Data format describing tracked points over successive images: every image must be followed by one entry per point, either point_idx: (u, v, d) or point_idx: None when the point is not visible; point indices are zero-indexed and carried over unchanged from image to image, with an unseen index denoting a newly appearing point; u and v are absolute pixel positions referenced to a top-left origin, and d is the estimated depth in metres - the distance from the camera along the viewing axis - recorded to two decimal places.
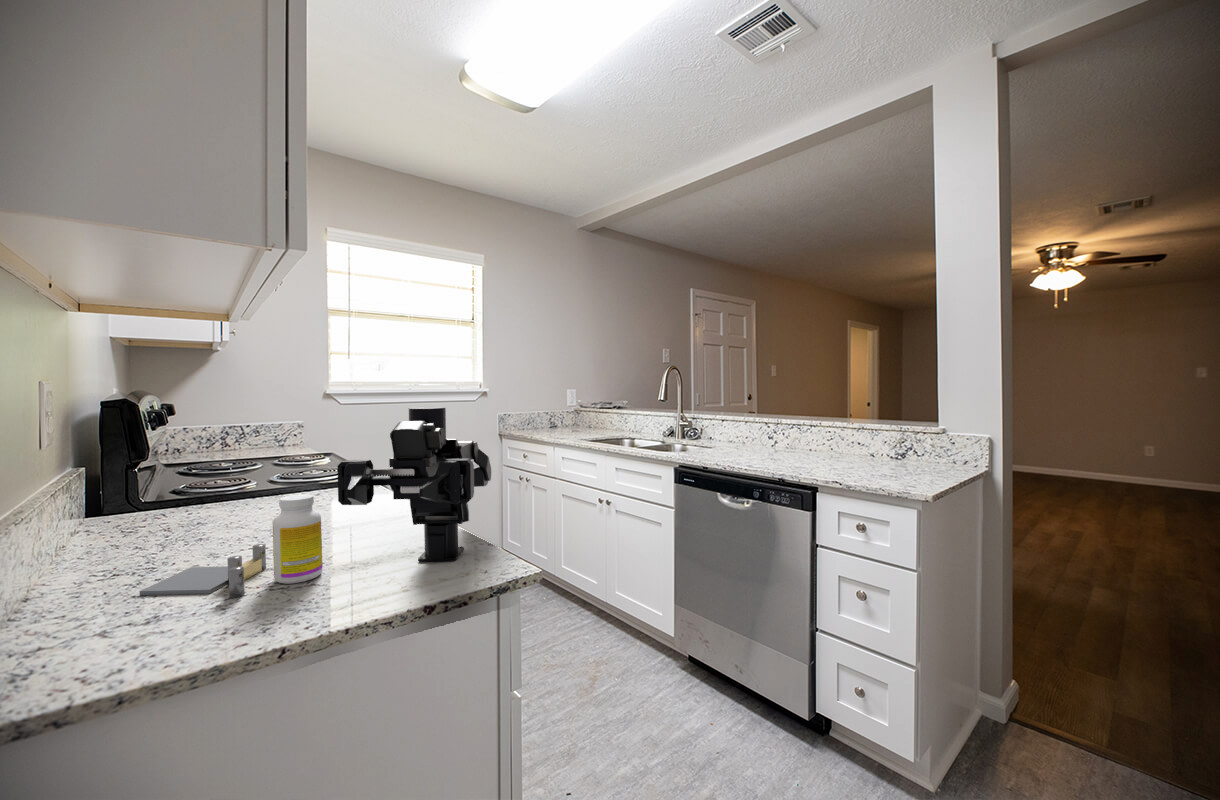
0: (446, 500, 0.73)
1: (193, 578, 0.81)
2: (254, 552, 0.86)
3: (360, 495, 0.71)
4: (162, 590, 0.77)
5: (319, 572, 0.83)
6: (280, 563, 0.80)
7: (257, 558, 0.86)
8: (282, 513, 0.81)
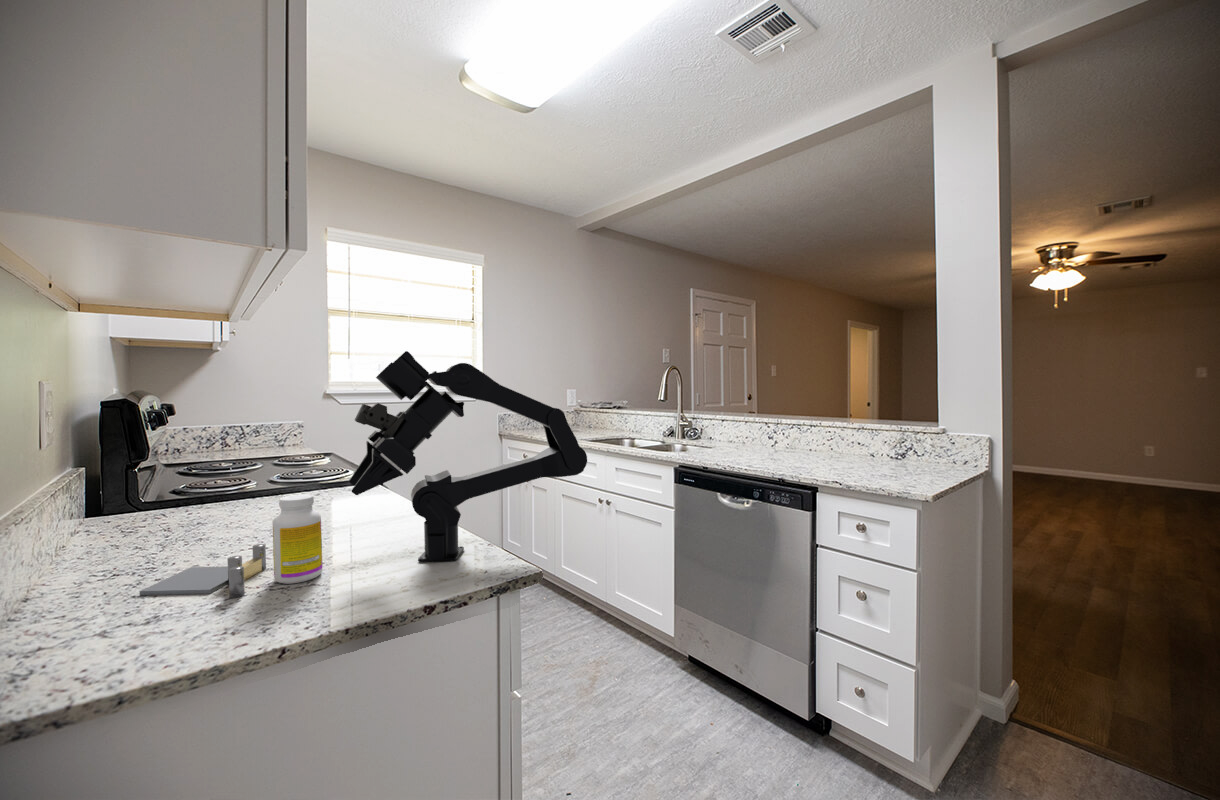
0: (390, 478, 0.83)
1: (193, 578, 0.81)
2: (254, 552, 0.86)
3: None
4: (162, 590, 0.77)
5: (319, 572, 0.83)
6: (280, 563, 0.80)
7: (257, 558, 0.86)
8: (282, 513, 0.81)
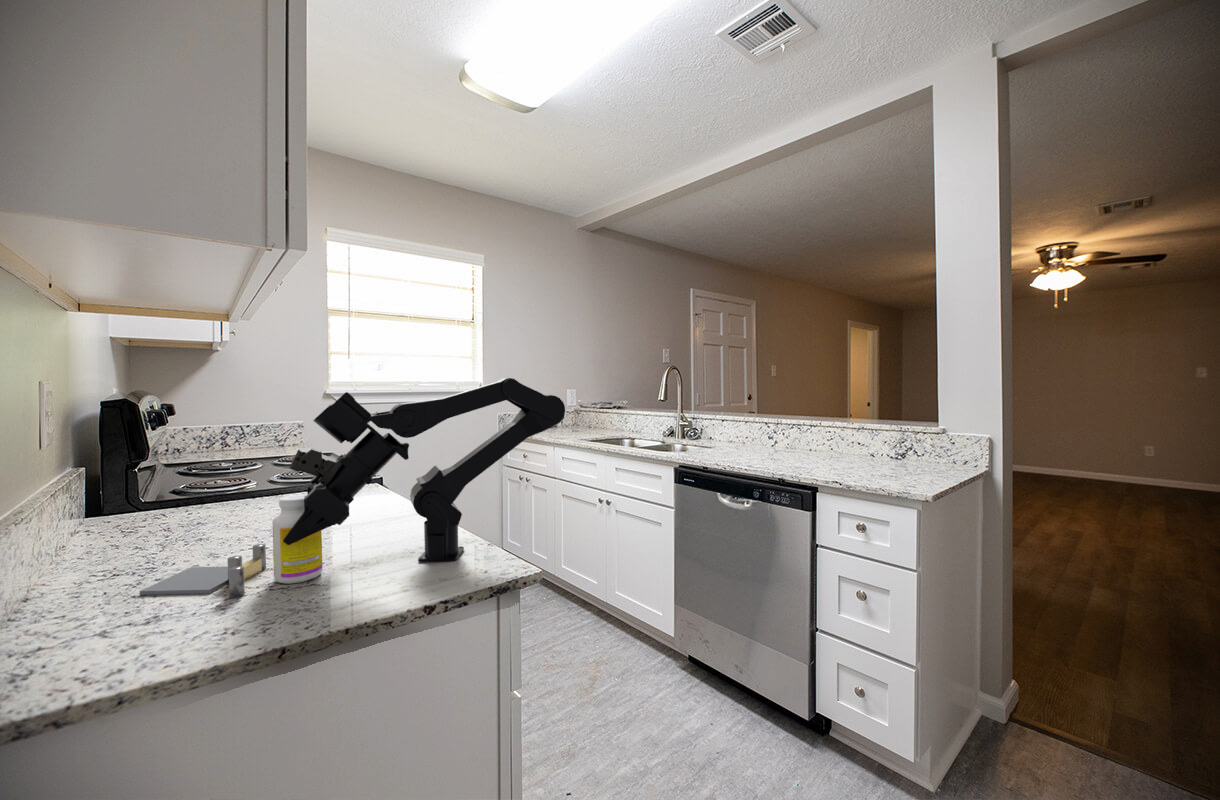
0: (324, 527, 0.80)
1: (193, 578, 0.81)
2: (254, 552, 0.86)
3: None
4: (162, 590, 0.77)
5: (319, 572, 0.83)
6: (280, 563, 0.80)
7: (257, 558, 0.86)
8: (282, 513, 0.81)
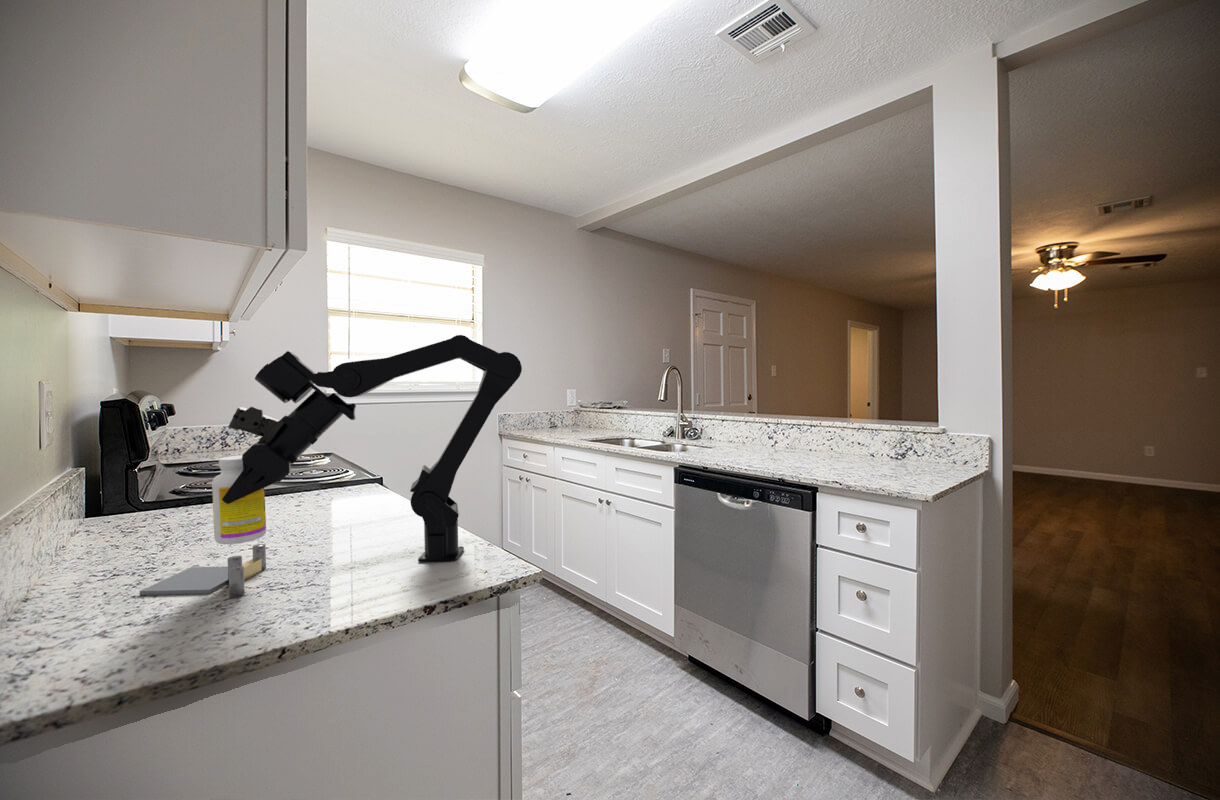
0: (264, 485, 0.79)
1: (193, 578, 0.81)
2: (254, 552, 0.86)
3: None
4: (162, 590, 0.77)
5: (262, 533, 0.82)
6: (220, 523, 0.78)
7: (257, 558, 0.86)
8: (222, 473, 0.80)
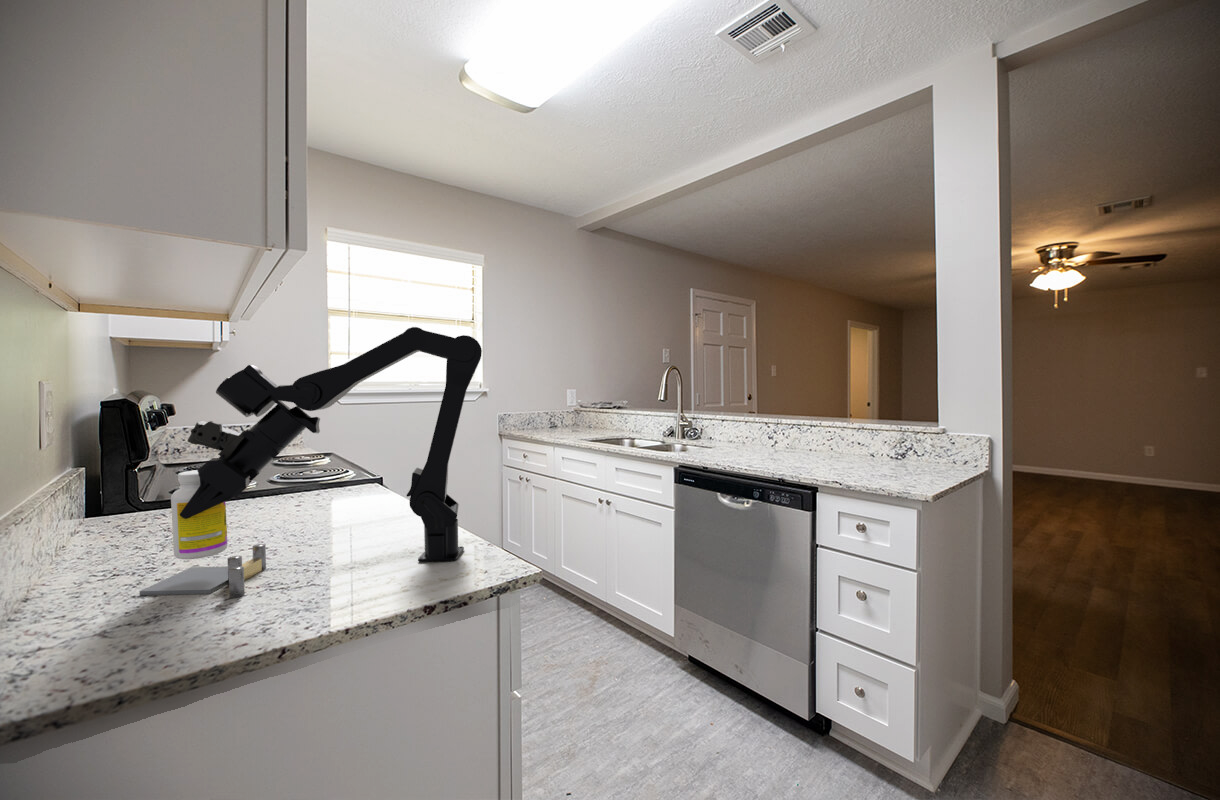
0: (222, 501, 0.78)
1: (193, 578, 0.81)
2: (254, 552, 0.86)
3: None
4: (162, 590, 0.77)
5: (222, 548, 0.82)
6: (178, 538, 0.78)
7: (257, 558, 0.86)
8: (181, 488, 0.79)
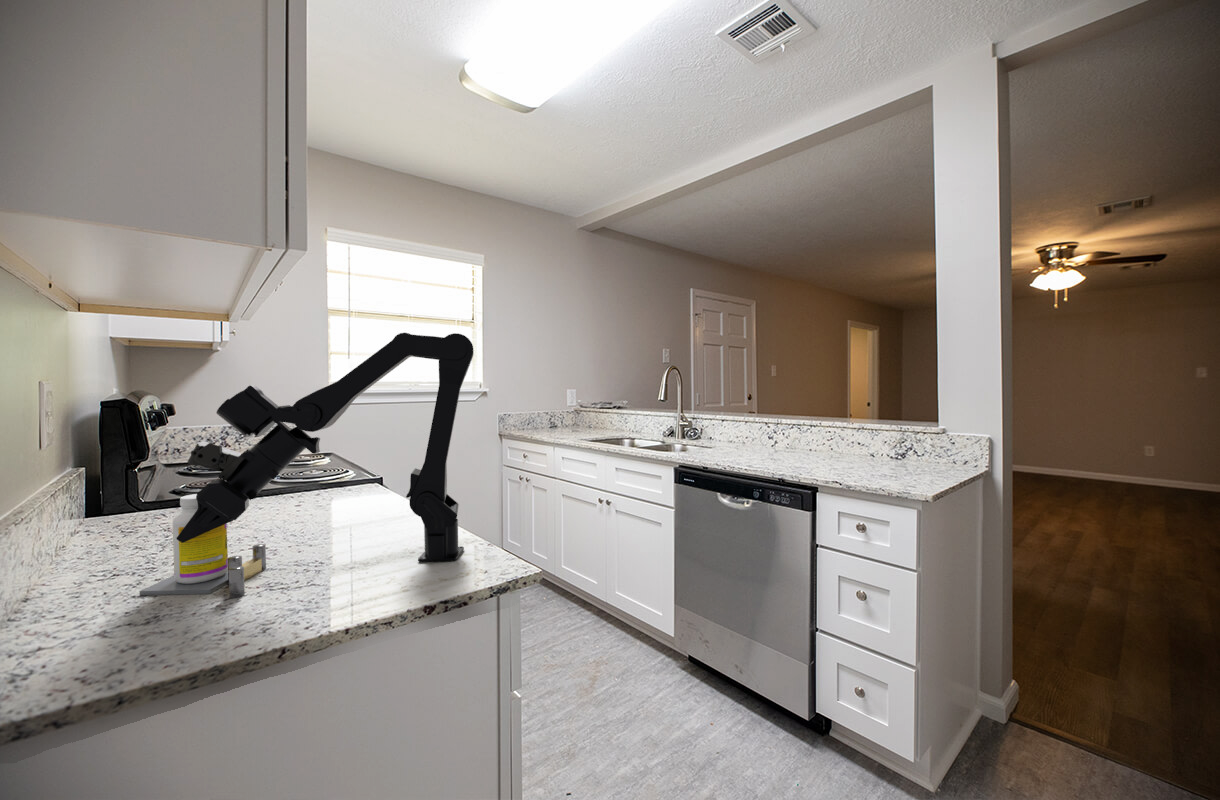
0: (220, 524, 0.77)
1: None
2: (254, 552, 0.86)
3: None
4: (162, 590, 0.77)
5: (223, 572, 0.82)
6: (179, 563, 0.78)
7: (257, 558, 0.86)
8: (182, 512, 0.80)
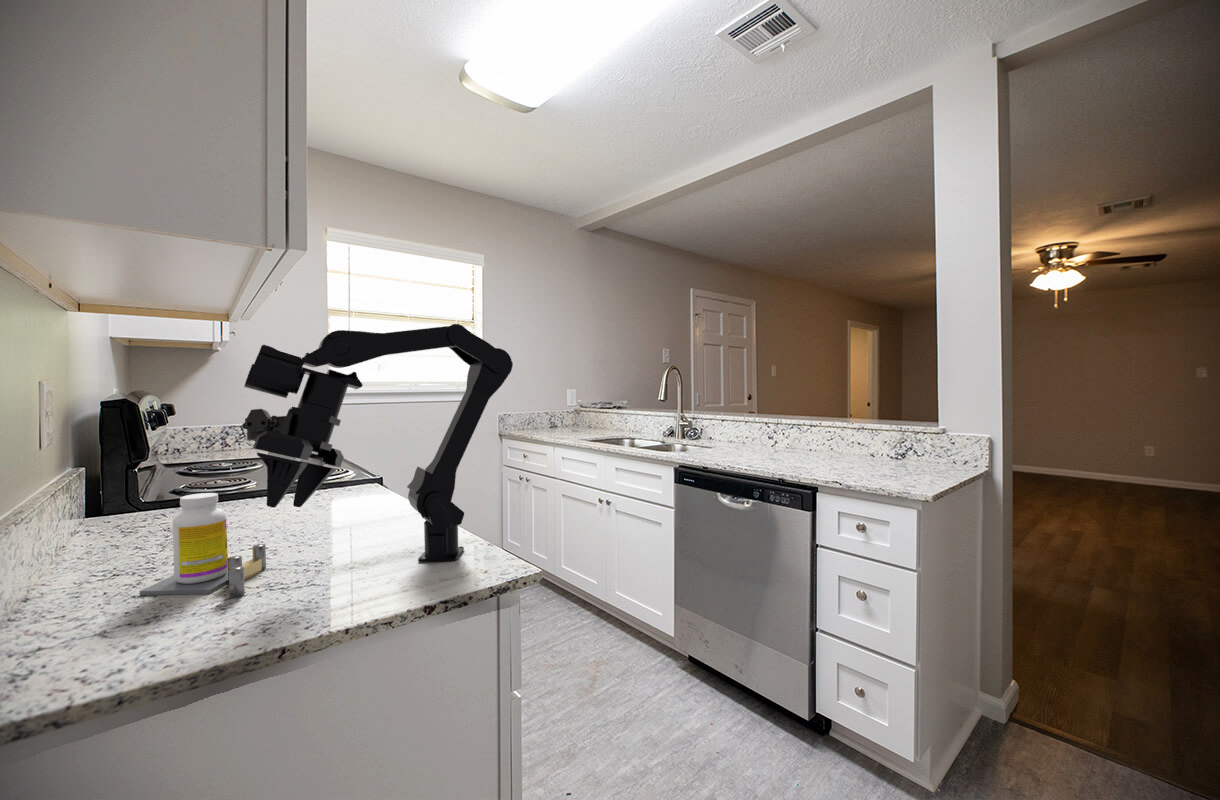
0: (294, 473, 0.74)
1: None
2: (254, 552, 0.86)
3: (312, 483, 0.84)
4: (162, 590, 0.77)
5: (223, 572, 0.82)
6: (179, 563, 0.78)
7: (257, 558, 0.86)
8: (182, 512, 0.80)
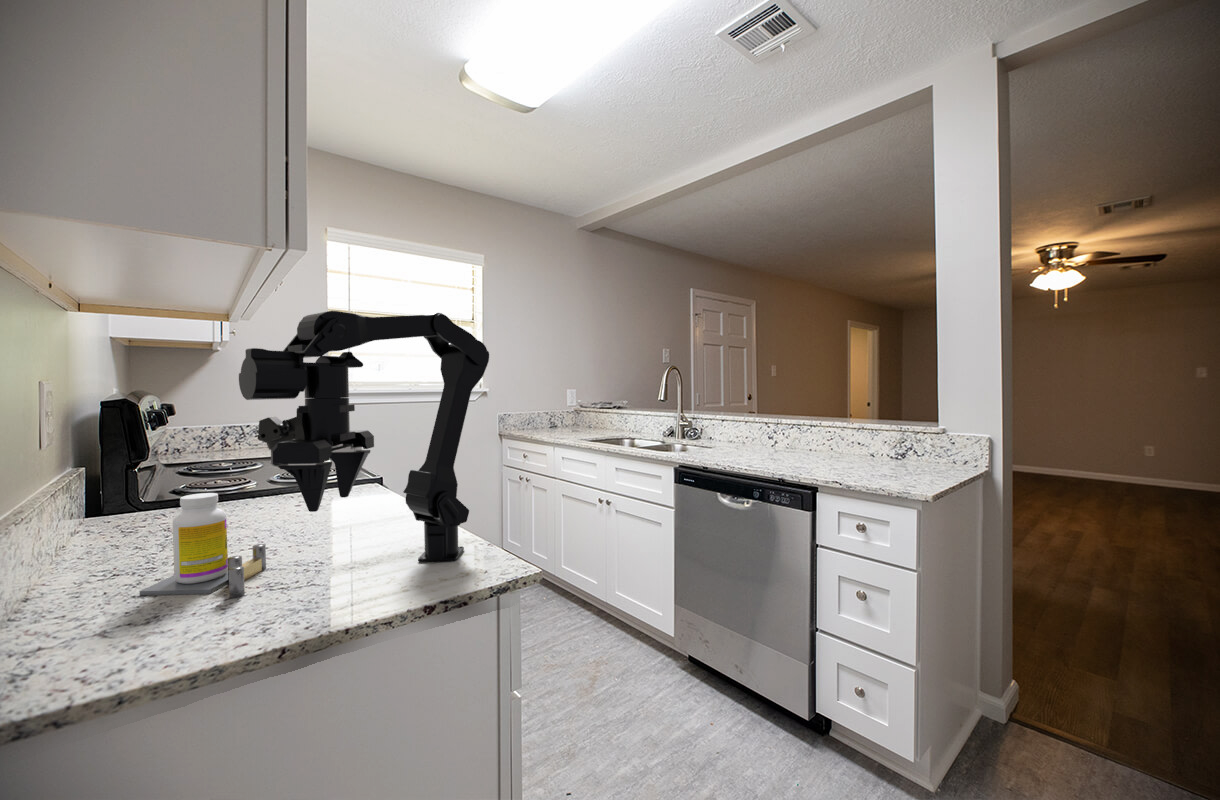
0: (321, 476, 0.71)
1: None
2: (254, 552, 0.86)
3: (350, 471, 0.82)
4: (162, 590, 0.77)
5: (223, 572, 0.82)
6: (179, 563, 0.78)
7: (257, 558, 0.86)
8: (182, 512, 0.80)
